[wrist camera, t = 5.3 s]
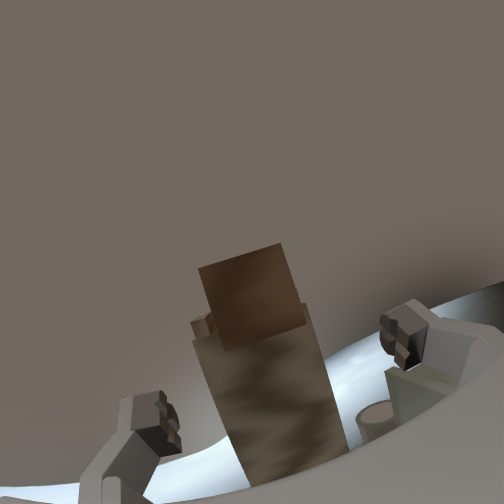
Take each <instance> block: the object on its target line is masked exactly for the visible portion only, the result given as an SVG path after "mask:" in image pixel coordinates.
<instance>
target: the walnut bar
mask: <svg viewBox="0 0 504 504" xmlns="http://www.w3.org/2000/svg"><path fill="white" fill-rule="evenodd" d="M198 271H199V274H200V277H201V280H202V283H203V287H204V290H205V293H206V296H207V299H208V303H209V306H210V309H211V312H212V315H213V318H214V321H215V324H216V327H217V330H218V333H219V336H220V339H221V342H222V345H223V348H224V351H225V352H227V351H230V350H233V349H236V348H239V347H243V346H246V345H249V344H252V343H255V342H258V341H261V340H264V339H267V338H270V337H272V336H275V335H278V334H281V333H284V332H287V331H289V330H292V329H295V328H298V327H300V326H303V325H306V324H307V322H306V319H305V316H304V313H303V310H302V307H301V303H300V300H299V297H298V294H297V291H296V288H295V285H294V282H293V279H292V276H291V273H290V270H289V267H288V264H287V261H286V258H285V255H284V252H283V249H282V246H281V243H279V244H275V245H272V246H269V247H266V248H263V249H260V250H256V251H253V252H250V253H247V254H243V255H240V256H237V257H234V258H230V259H227V260H224V261H221V262H217V263H214V264H211V265H208V266H204V267H201V268H198Z"/></svg>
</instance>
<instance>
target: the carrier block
mask: <svg viewBox="0 0 504 504" xmlns="http://www.w3.org/2000/svg"><path fill="white" fill-rule="evenodd" d="M384 372H385V376H386V381H387V385H388V390H389V394H390V399H391V404H392V409H393V414H394V419H395V424H396V428H398V427H399V426H401V425H403V424H405V423H406V422H408V421H410V420H411V419H413V418H415V417H416V416H418V415H420V414H421V413H423V412H424V411H426V410H427V409H429V408H431V407H432V406H434V405H435V404H437V403H438V402H440V401H441V400H442V399H444V398H445V397H447V396H448V395H450V394H451V393H452V392H454V391H455V390H456V389H457V386H458V383H459V380H460V377H457V376H454V375H452V374H449V373H446V372H443V371H441V370H438V369H435V368H433V367H430V366H427V365H425V364H422V363H421V364H420V365H418V366H416V367H415V368H413V369H411V370H410V371H403V370H402V369H400V368H397V367H394V366H393V367H391V368H390V369H388V370H386V371H384Z"/></svg>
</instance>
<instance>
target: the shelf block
mask: <svg viewBox="0 0 504 504" xmlns="http://www.w3.org/2000/svg"><path fill="white" fill-rule="evenodd" d="M296 291H297V289H296ZM297 294H298V292H297ZM298 297H299V295H298ZM299 300H300V298H299ZM300 303H301V301H300ZM301 307H302V310H303V313H304V316H305V319H306V322H307V324H306V325H303V326H300V327H298V328H295V329H292V330H289V331H287V332H284V333H281V334H278V335H275V336H272V337H270V338H267V339H264V340H261V341H258V342H255V343H252V344H249V345H246V346H243V347H239V348H236V349H233V350H230V351H227V352H225V351H224V348H223V345H222V342H221V339H220V336H219V333H218V330H217V327H216V324H215V321H214V318H213V315H212V312H211V310H210V311H207V312H204V313H202V314H201V315H199V316H198V317H197V318H195V319H194V320H193V321H191V322H190V323H191V326H192V329H193V332H194V335H195V337H194V338H193V340H192V343H193V346H194V348H195V351H196V354H197V357H198V360H199V363H200V365H201V368H202V371H203V374H204V376H205V379H206V382H207V384H208V387H209V390H210V392H211V395H212V397H213V400H214V402H215V405H216V408H217V410H218V412H219V415H220V417H221V420H222V422H223V425H224V427H225V430H226V432H227V434H228V437H229V439H230V441H231V444H232V446H233V448H234V450H235V453H236V455H237V457H238V459H239V462H240V464H241V466H242V468H243V470H244V473H245V475H246V477H247V479H248V481H249V483H250V485H251V487H255V486H258V485H262V484H265V483H269V482H272V481H275V480H278V479H282V478H285V477H288V476H291V475H294V474H296V473H299V472H302V471H305V470H308V469H310V468H313V467H315V466H318V465H321V464H323V463H326V462H328V461H330V460H333V459H335V458H337V457H340V456H342V455H344V454H346V453H349V448H348V444H347V441H346V437H345V433H344V430H343V426H342V422H341V419H340V415H339V412H338V408H337V405H336V401H335V398H334V394H333V391H332V387H331V384H330V381H329V377H328V374H327V370H326V367H325V364H324V360H323V357H322V354H321V350H320V347H319V344H318V341H317V337H316V335H315V331H314V328H313V325H312V321H311V318H310V315H309V312H308V309H307V306H306V303H301Z"/></svg>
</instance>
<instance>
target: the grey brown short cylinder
mask: <svg viewBox="0 0 504 504" xmlns="http://www.w3.org/2000/svg"><path fill="white" fill-rule="evenodd" d="M355 420H356V423H357V425H358V428H359V431H360V433H361V436H362V439H363V441H364V444H365V445H366V444H368V443H370V442H372V441H374V440H376V439H377V438H379V437H381V436H383V435H385V434H387V433H389V432H391V431H392V430H394V429H396V424H395V419H394V414H393V409H392V404H391V400H384V401H379V402H376V403H374V404H371V405H369V406H367V407H366V408H364V409H362V410H361V411H360V412H359V413H358V414H357V416H356V419H355Z"/></svg>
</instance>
